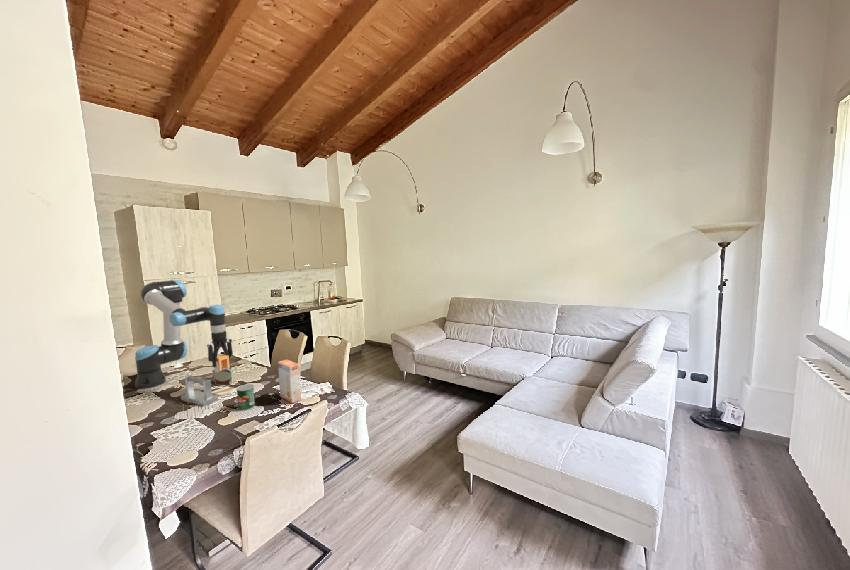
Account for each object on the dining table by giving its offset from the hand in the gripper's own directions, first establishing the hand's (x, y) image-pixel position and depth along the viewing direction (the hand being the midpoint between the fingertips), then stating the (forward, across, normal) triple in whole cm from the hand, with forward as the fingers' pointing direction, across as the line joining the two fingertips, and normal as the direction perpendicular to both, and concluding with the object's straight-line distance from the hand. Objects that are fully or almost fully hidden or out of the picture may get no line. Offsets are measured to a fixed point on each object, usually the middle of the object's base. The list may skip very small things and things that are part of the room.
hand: (222, 369), depth 202 cm
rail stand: (+13, -13, +2) cm, 19 cm away
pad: (+13, 0, 0) cm, 13 cm away
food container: (+13, +9, +11) cm, 20 cm away
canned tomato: (+14, -8, -30) cm, 34 cm away
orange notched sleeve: (-1, 0, 0) cm, 1 cm away
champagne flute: (+13, +15, +72) cm, 75 cm away
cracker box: (+14, +9, -44) cm, 47 cm away
